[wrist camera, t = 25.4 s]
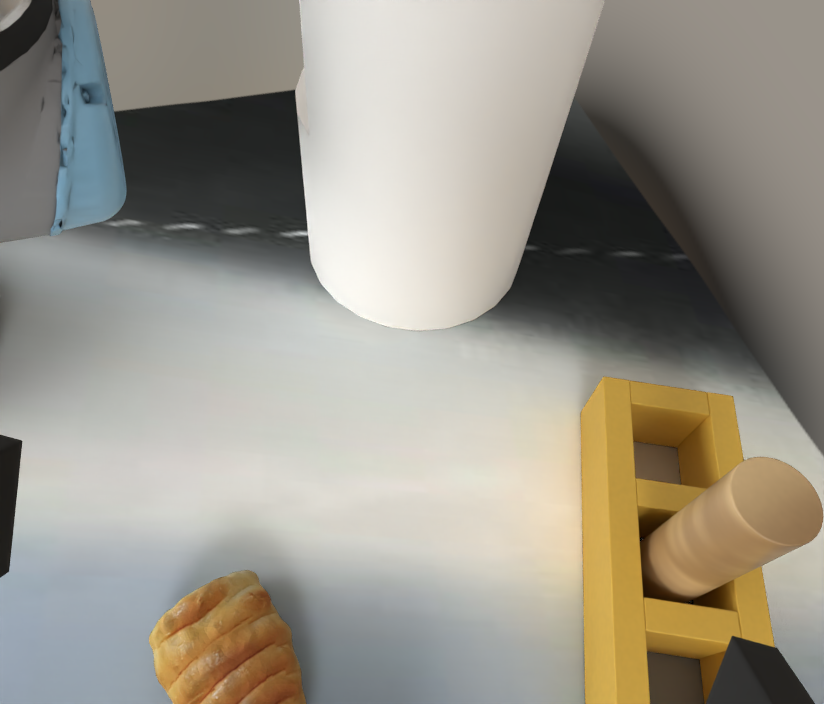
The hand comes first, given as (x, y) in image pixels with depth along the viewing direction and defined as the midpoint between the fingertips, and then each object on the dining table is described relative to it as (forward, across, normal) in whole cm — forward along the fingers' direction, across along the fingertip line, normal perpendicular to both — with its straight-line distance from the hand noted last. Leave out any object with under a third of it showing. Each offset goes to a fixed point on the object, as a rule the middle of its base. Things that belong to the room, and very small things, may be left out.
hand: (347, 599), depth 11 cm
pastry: (+20, -7, -19) cm, 28 cm away
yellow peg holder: (+27, +16, -11) cm, 33 cm away
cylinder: (+43, -5, +4) cm, 43 cm away
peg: (+27, +16, -11) cm, 33 cm away
